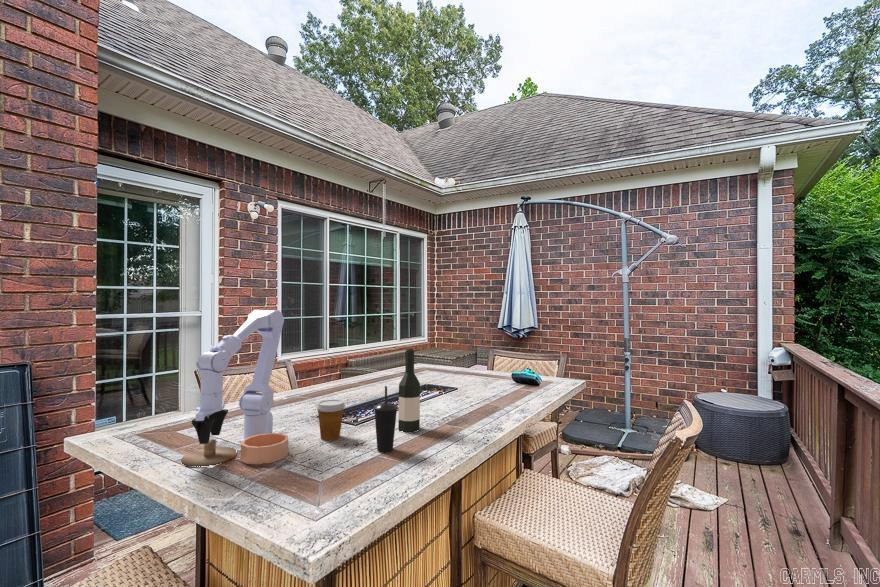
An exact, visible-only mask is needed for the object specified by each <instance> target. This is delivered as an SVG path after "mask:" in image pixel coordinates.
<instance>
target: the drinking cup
mask: <svg viewBox="0 0 880 587" xmlns="http://www.w3.org/2000/svg"><path fill="white" fill-rule="evenodd" d="M373 410H374V420H375V421H374V423H375V433H376V434H375V435H376V436H375V437H376V450H377V452H378V451H379V452H378V453H381V452H384V453H383V454H386V452H388V453H390V452H391V453H392V451H393V450H394V442H395V433H396V432H395V431H396V430H395V429H396V424H397V423H396V421H397V414H398V413H397V410H399V405H397V404H395V403H392V402H389V401H388V386H387V385H385V386H384V402H380V403H377V404H375V405H374V406H373Z"/></svg>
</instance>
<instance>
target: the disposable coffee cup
mask: <svg viewBox="0 0 880 587" xmlns="http://www.w3.org/2000/svg"><path fill="white" fill-rule="evenodd" d="M345 406H346V404H345V402H344V400H341V399H325V400H321V401H318V402H317V405H316V409H317V414H318V415H317V416H318V423H319V424H318V425H319V431H320V432H319V433H320V435H319V436H320V439H321V440H322V441H333V440H337V439H339V438H340V437H341V429H342V423H343V417H344V416H343V415H344V414H343V413H344V409H345Z"/></svg>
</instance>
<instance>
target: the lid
mask: <svg viewBox="0 0 880 587" xmlns="http://www.w3.org/2000/svg"><path fill="white" fill-rule="evenodd" d="M236 450H237V449H236V448H234V447H230V446H217V440H216V439H215V438H214V439H209V442H208V443H207V444H203V448H201V449H197V450H194V451H191V452H188V453H186V454H185V455H184V456H182V457H181V460H180V461H181V462H182V464H184V465H186V466H196V467H197V466H198V467H199V466H200V467H201V466H209V465H216V464H220V463H222V464H224V463H226V462H229V461H230V459H231V460H233V459H234V458H236V457H237V455H236ZM223 462H224V463H223ZM196 467H195V468H196Z"/></svg>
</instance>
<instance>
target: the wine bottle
mask: <svg viewBox="0 0 880 587" xmlns="http://www.w3.org/2000/svg"><path fill="white" fill-rule="evenodd" d="M404 367H405V372H404V374H403V376H402V378H401V380H400V381H399V384H398V427H397V430H399V431H398V432H400V431H403V432H414V431H417V430H419V429H421V428H420V427H421V426H420V417H421V415H420V414H421V408H420V407H421V402H420V401H421V383H420V381H419V379H418V377H417V376H416V373H415V350H414V348H413V347H407V348H406V350H405V366H404ZM419 431H420V430H419ZM403 432H402V433H403ZM417 432H418V431H417ZM414 433H415V432H414Z"/></svg>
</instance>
